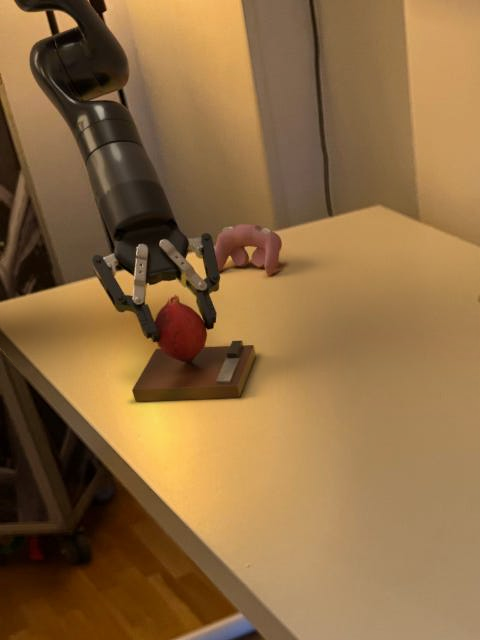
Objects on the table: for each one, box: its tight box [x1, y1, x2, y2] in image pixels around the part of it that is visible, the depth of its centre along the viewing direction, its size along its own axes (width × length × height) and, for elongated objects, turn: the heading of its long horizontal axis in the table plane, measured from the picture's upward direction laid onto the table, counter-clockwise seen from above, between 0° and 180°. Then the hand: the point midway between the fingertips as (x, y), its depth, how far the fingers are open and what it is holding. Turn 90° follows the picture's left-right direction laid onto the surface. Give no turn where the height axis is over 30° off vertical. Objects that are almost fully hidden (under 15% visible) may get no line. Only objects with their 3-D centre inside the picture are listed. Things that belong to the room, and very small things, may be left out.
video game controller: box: [214, 223, 283, 276], centre depth 142 cm, size 10×5×7 cm, turn 76°
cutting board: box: [131, 340, 257, 403], centre depth 115 cm, size 12×11×2 cm
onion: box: [154, 294, 208, 363], centre depth 113 cm, size 6×6×8 cm
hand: (183, 332), depth 112 cm, fingers closed on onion, 5 cm apart
